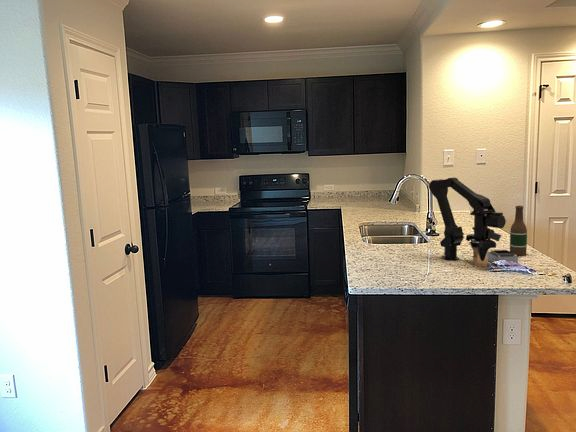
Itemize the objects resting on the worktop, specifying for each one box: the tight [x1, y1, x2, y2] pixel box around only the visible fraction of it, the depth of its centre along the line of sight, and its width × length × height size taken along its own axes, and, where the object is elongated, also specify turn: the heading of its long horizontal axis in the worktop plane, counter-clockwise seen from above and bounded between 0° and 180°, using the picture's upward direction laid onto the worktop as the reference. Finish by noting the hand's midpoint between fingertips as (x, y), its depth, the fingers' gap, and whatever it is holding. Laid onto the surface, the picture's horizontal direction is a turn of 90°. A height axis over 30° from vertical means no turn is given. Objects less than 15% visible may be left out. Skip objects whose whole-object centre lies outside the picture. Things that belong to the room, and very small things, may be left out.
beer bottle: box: [509, 205, 528, 257], centre depth 229 cm, size 8×8×24 cm
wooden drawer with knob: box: [472, 247, 489, 267], centre depth 214 cm, size 5×5×9 cm
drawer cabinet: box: [487, 249, 519, 264], centre depth 216 cm, size 11×9×5 cm
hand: (480, 259), depth 214 cm, fingers closed on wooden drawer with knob, 5 cm apart
